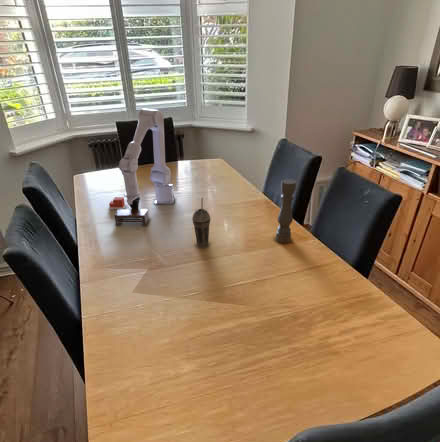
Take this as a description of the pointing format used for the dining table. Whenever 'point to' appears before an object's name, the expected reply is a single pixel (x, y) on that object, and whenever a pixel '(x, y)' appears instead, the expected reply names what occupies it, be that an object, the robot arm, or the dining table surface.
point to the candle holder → (285, 211)
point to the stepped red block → (117, 203)
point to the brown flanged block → (131, 216)
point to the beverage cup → (201, 226)
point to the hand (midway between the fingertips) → (135, 212)
